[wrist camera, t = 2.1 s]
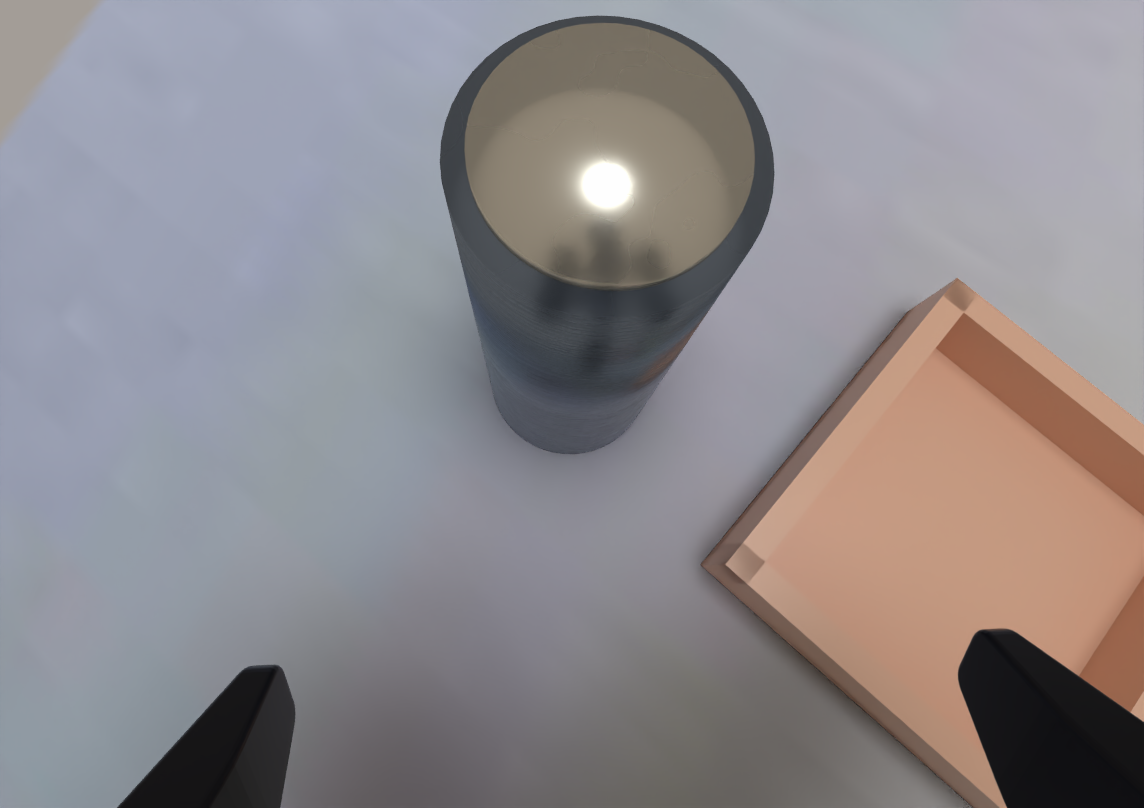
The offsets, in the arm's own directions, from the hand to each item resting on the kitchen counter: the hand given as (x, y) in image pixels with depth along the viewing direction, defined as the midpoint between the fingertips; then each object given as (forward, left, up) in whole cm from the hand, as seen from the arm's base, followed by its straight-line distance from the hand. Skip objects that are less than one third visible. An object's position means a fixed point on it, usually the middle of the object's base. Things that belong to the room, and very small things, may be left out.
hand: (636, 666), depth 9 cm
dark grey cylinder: (+5, +5, -13) cm, 15 cm away
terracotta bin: (+9, -8, -13) cm, 18 cm away
